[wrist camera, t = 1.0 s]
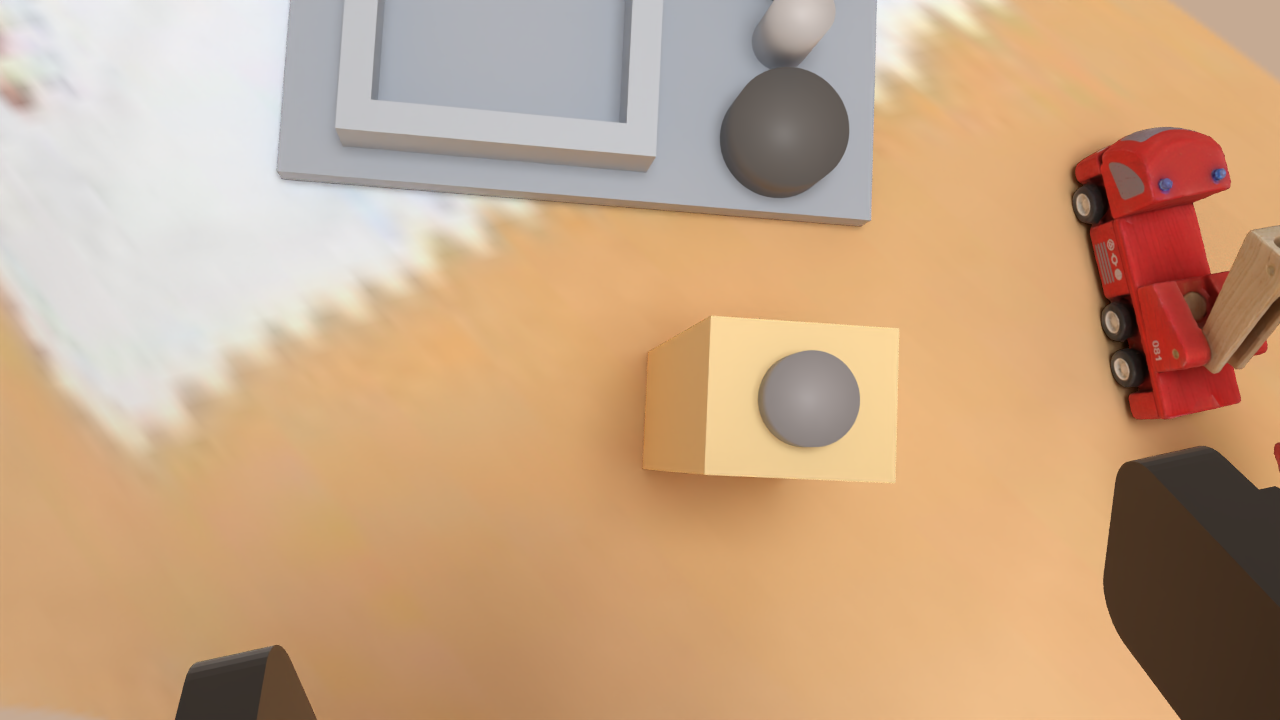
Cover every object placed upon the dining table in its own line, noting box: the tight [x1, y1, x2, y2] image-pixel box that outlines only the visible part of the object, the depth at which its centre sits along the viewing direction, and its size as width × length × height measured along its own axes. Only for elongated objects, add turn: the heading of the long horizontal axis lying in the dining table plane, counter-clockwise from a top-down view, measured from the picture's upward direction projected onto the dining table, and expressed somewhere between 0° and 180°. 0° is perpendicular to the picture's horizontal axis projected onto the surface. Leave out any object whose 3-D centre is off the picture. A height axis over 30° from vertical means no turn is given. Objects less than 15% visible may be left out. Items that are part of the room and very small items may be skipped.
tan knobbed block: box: [642, 316, 899, 483], centre depth 32 cm, size 5×4×11 cm
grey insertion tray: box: [277, 0, 877, 226], centre depth 36 cm, size 20×12×4 cm, turn 87°
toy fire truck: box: [1073, 127, 1280, 471], centre depth 35 cm, size 3×14×10 cm, turn 12°
